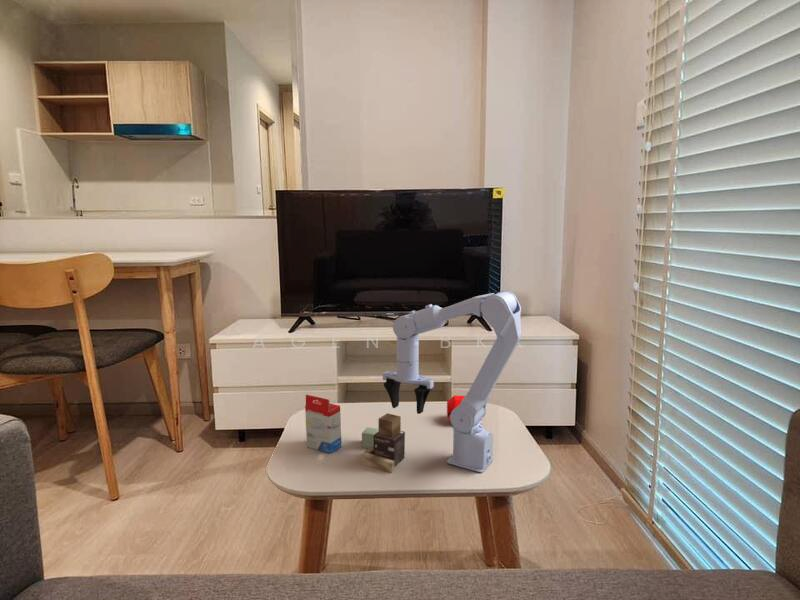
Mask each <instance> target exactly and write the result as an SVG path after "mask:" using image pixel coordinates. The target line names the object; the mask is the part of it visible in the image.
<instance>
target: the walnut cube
mask: <svg viewBox="0 0 800 600" xmlns="http://www.w3.org/2000/svg"><path fill="white" fill-rule="evenodd" d="M401 418H402V416H400V415H395V414H392V413H385V414H384V415H382V416H380V417H379V418H378V429H379V434H381V435H385V436H389V437H393V436H395V435H396V434H398V433H399V432H401V431H402V430H401V429H402V427H401V424H402V423H401V422H402V421H401V420H402V419H401Z"/></svg>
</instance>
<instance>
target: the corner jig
mask: <svg viewBox="0 0 800 600" xmlns="http://www.w3.org/2000/svg"><path fill="white" fill-rule="evenodd" d="M360 456H361V459H360V461H361V464H363V465H366V466H369V467H372V468H375V469H378V470H382V471H385V472H387V473H392V474H393V472H395V467H394V461H393V460H389V459H386V458H383V457H379V456H376V455H373V446H372V447H371V448H368V449H367V450H365V451H363V452H362V453H361V455H360Z"/></svg>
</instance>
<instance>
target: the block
mask: <svg viewBox="0 0 800 600" xmlns="http://www.w3.org/2000/svg"><path fill="white" fill-rule="evenodd" d="M377 432H379V427H378V428H377V427H370V426H367V427H366V428H365V429H364V430H363V431H362V432H361V447H362V448H368V449H369V448H371V447H372V446H373V440H374V436H373V435H375V434H376V433H377Z"/></svg>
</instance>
